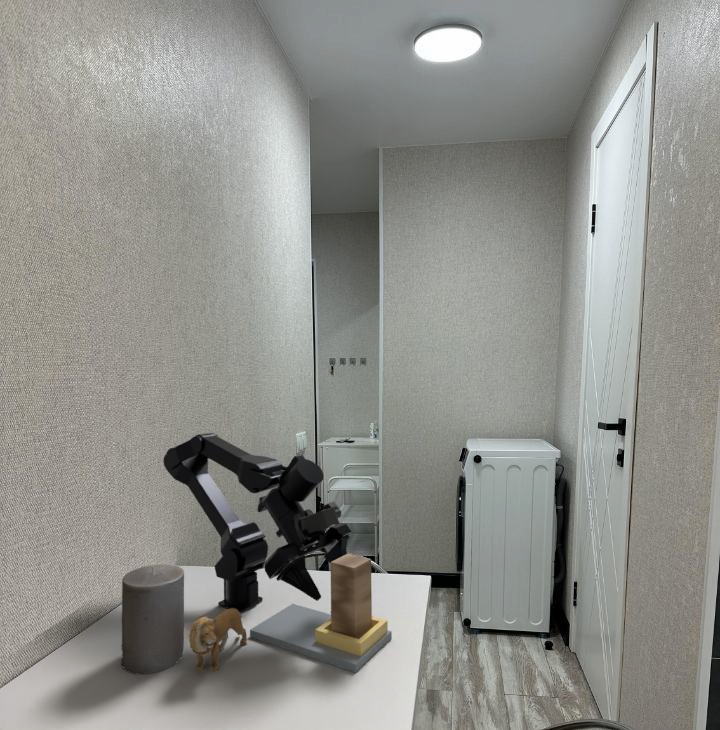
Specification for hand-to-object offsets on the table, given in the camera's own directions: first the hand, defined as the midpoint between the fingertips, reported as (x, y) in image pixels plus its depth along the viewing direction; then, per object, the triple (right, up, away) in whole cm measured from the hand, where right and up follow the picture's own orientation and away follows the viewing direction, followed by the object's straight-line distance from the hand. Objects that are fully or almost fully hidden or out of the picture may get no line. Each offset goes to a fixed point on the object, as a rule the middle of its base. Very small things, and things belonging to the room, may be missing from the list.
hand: (336, 589), depth 92 cm
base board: (-3, -8, 0) cm, 9 cm away
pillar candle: (-30, -9, -6) cm, 32 cm away
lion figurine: (-19, -9, -6) cm, 22 cm away
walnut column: (+3, -7, -2) cm, 8 cm away
